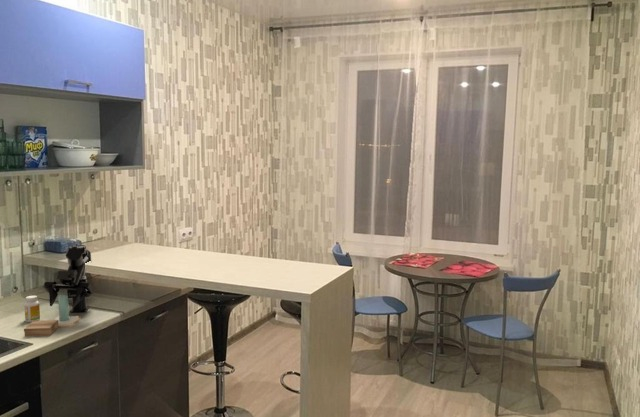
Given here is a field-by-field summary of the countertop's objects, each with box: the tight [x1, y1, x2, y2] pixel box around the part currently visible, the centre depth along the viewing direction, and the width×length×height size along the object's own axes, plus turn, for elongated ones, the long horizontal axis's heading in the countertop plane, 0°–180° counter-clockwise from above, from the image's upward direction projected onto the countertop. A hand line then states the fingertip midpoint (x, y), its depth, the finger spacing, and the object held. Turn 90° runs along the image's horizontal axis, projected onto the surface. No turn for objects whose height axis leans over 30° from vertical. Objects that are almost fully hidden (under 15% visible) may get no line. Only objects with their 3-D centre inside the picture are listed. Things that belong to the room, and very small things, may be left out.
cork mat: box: [58, 316, 82, 328], centre depth 218 cm, size 10×10×1 cm
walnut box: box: [23, 319, 59, 337], centre depth 207 cm, size 9×9×3 cm
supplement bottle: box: [23, 295, 41, 323], centre depth 220 cm, size 5×5×10 cm
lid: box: [53, 294, 80, 325], centre depth 217 cm, size 9×9×11 cm
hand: (61, 306), depth 215 cm, fingers open, 9 cm apart
